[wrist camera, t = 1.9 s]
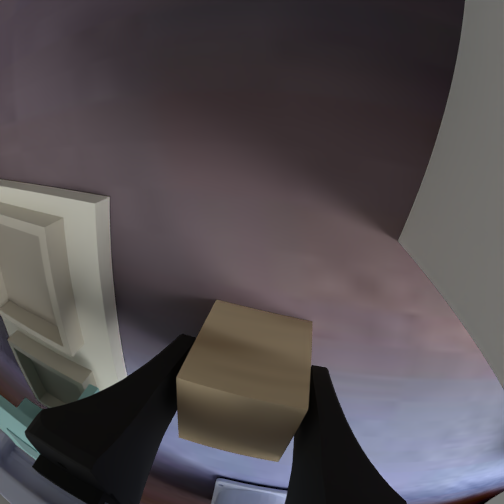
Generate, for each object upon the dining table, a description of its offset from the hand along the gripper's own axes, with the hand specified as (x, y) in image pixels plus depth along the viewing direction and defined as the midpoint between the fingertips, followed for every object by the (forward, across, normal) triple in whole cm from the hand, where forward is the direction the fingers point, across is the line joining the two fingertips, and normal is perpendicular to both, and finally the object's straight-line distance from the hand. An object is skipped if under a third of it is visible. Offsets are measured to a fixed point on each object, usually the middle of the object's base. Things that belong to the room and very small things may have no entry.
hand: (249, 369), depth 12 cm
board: (+1, +12, +4) cm, 13 cm away
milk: (+2, -10, -12) cm, 16 cm away
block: (+2, 0, 0) cm, 2 cm away
